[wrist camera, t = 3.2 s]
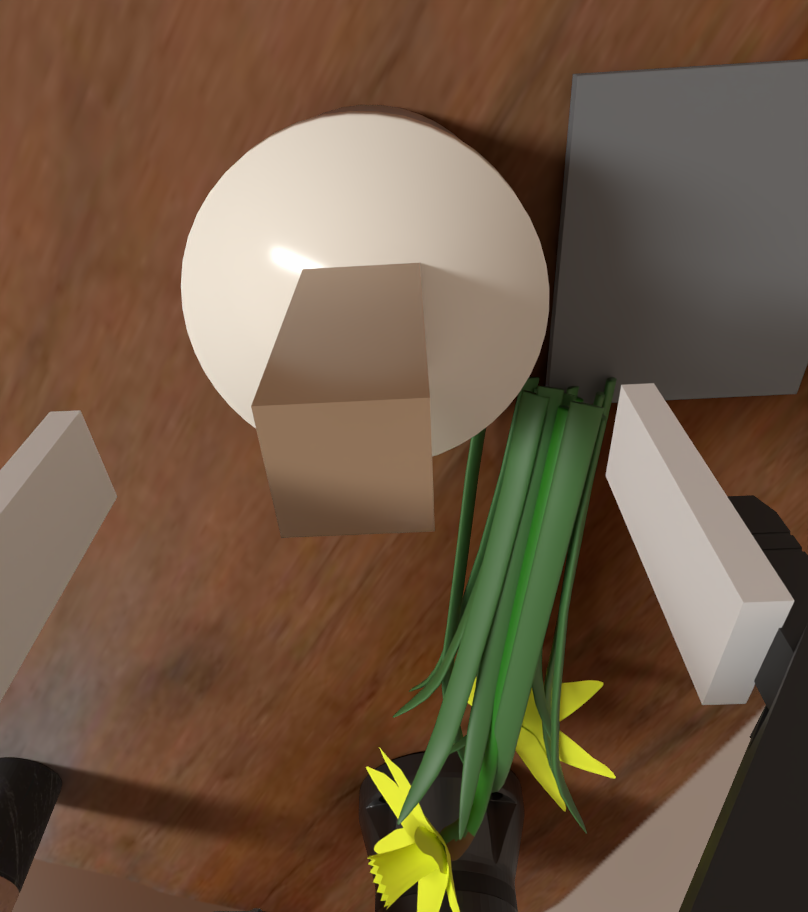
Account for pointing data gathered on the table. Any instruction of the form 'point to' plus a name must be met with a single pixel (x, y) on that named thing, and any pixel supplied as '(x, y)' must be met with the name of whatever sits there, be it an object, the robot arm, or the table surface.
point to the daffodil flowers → (503, 641)
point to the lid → (363, 311)
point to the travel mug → (22, 820)
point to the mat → (684, 232)
